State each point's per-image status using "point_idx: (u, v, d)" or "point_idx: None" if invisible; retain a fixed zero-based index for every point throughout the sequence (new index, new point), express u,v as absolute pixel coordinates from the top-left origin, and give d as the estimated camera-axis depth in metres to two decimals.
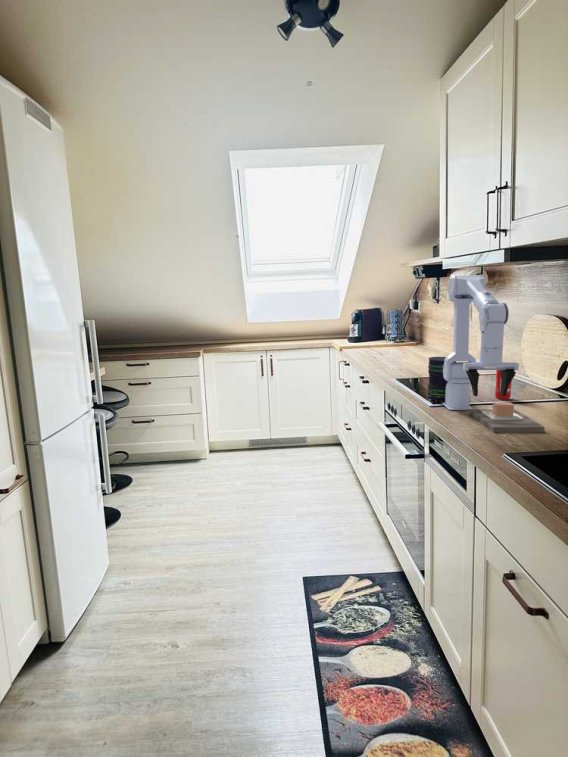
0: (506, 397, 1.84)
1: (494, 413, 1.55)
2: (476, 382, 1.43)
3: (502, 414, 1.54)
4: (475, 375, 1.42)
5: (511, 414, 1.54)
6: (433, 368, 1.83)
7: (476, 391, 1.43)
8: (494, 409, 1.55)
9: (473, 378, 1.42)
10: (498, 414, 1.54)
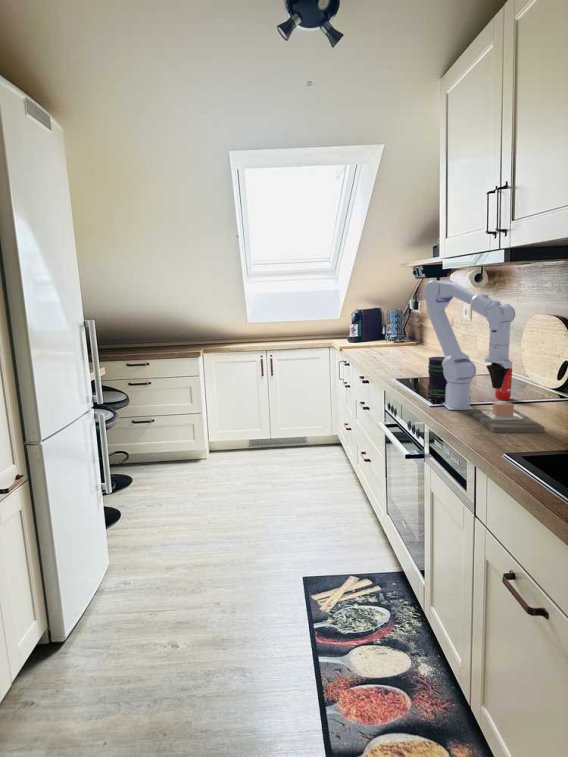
0: (506, 397, 1.84)
1: (494, 413, 1.55)
2: (490, 374, 1.60)
3: (502, 414, 1.54)
4: (488, 367, 1.60)
5: (511, 414, 1.54)
6: (433, 368, 1.83)
7: (492, 383, 1.60)
8: (494, 409, 1.55)
9: (488, 370, 1.61)
10: (498, 414, 1.54)
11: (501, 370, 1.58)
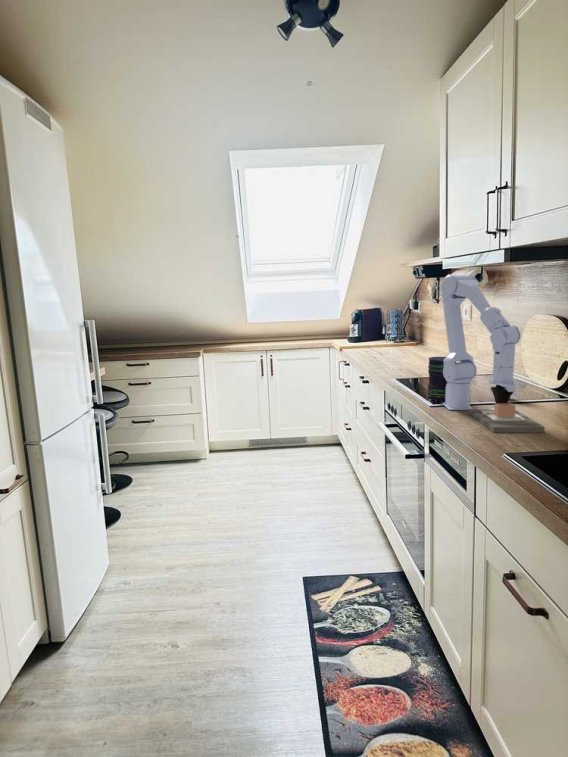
0: None
1: (495, 414, 1.54)
2: (495, 397, 1.57)
3: (504, 415, 1.52)
4: (492, 389, 1.57)
5: (513, 415, 1.52)
6: (433, 368, 1.83)
7: None
8: (495, 410, 1.54)
9: None
10: (500, 415, 1.53)
11: (505, 392, 1.55)
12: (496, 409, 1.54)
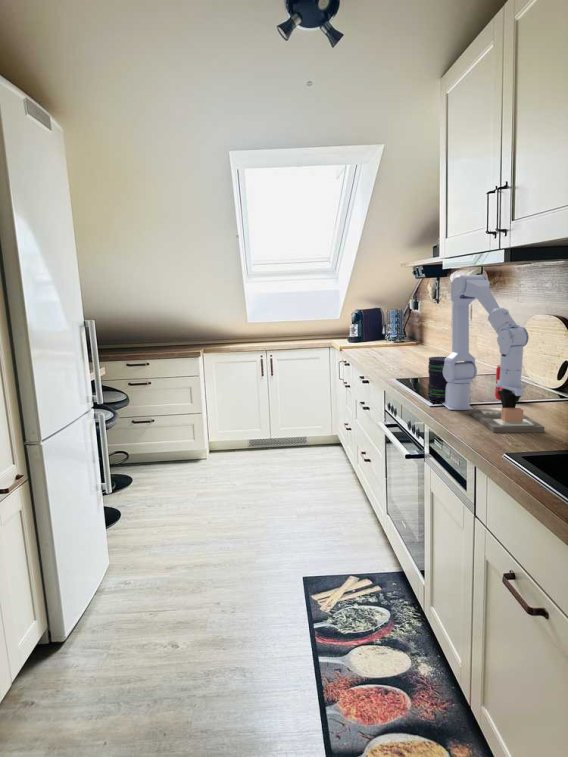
0: None
1: (503, 419, 1.48)
2: (501, 401, 1.51)
3: (511, 420, 1.47)
4: (499, 393, 1.51)
5: (520, 420, 1.47)
6: (433, 368, 1.83)
7: None
8: (503, 415, 1.48)
9: (499, 396, 1.52)
10: (507, 420, 1.47)
11: (513, 396, 1.49)
12: (503, 414, 1.48)
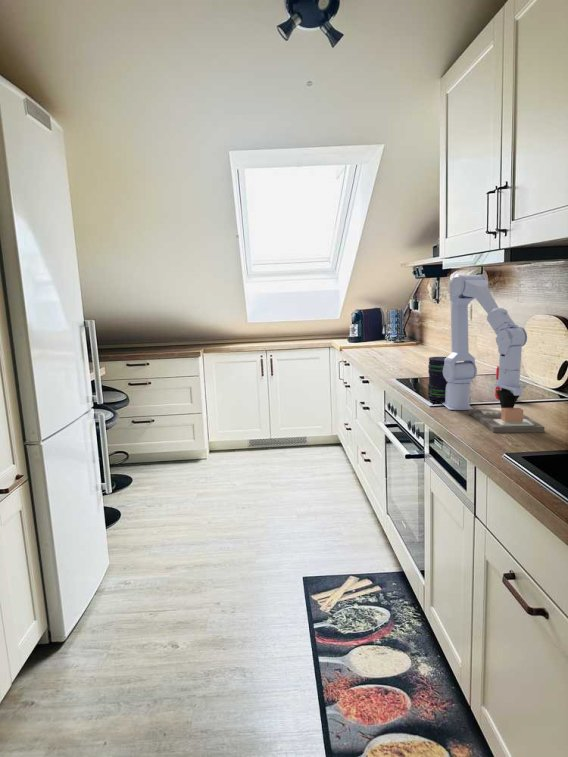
0: None
1: (503, 419, 1.48)
2: (500, 400, 1.52)
3: (511, 420, 1.47)
4: (497, 393, 1.52)
5: (520, 420, 1.47)
6: (433, 368, 1.83)
7: (501, 409, 1.52)
8: (503, 415, 1.48)
9: (498, 395, 1.53)
10: (507, 420, 1.47)
11: (511, 396, 1.50)
12: (503, 414, 1.48)
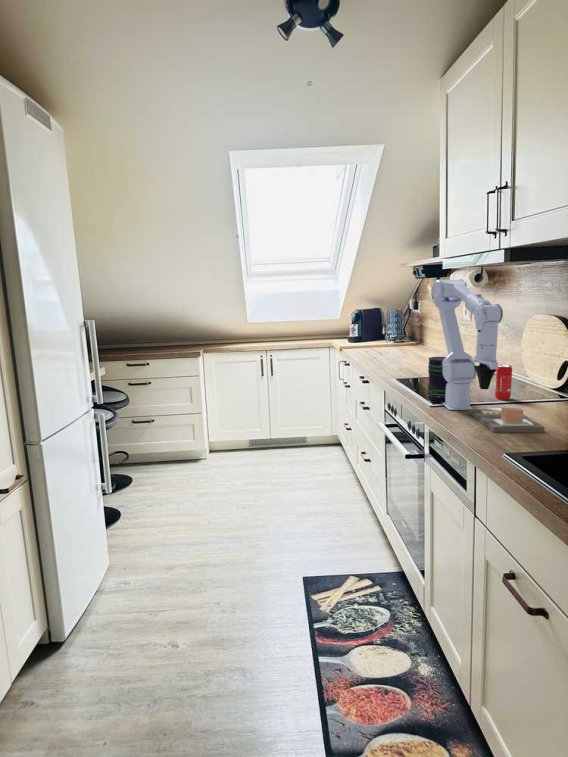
0: (506, 397, 1.84)
1: (503, 419, 1.48)
2: (478, 375, 1.58)
3: (511, 420, 1.47)
4: (475, 368, 1.58)
5: (520, 420, 1.47)
6: (433, 368, 1.83)
7: (479, 384, 1.58)
8: (503, 415, 1.48)
9: (476, 371, 1.58)
10: (507, 420, 1.47)
11: (488, 371, 1.56)
12: (503, 414, 1.48)
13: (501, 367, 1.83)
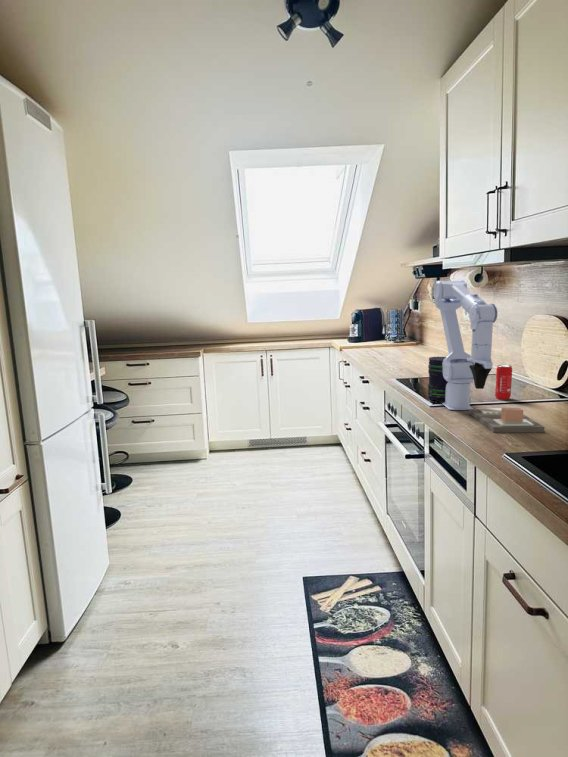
0: (506, 397, 1.84)
1: (503, 419, 1.48)
2: (473, 374, 1.58)
3: (511, 420, 1.47)
4: (470, 367, 1.58)
5: (520, 420, 1.47)
6: (433, 368, 1.83)
7: (474, 383, 1.58)
8: (503, 415, 1.48)
9: (471, 370, 1.59)
10: (507, 420, 1.47)
11: (483, 370, 1.56)
12: (503, 414, 1.48)
13: (501, 367, 1.83)
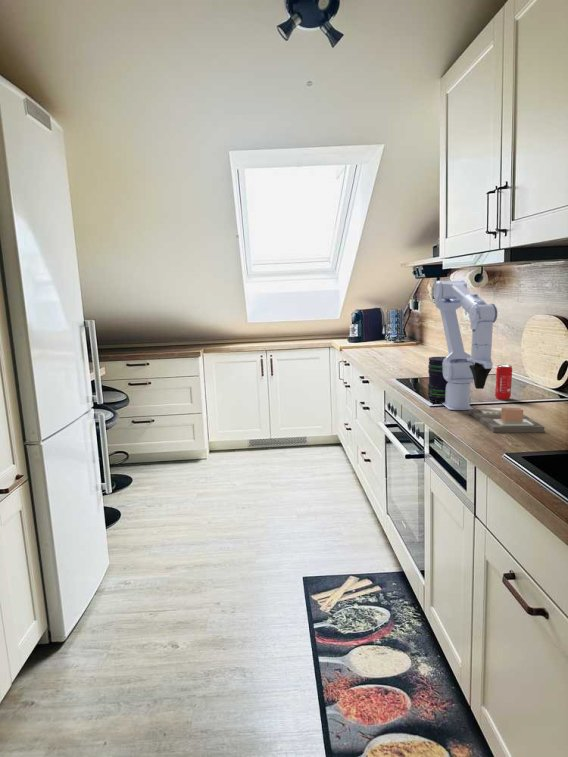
0: (506, 397, 1.84)
1: (503, 419, 1.48)
2: (473, 374, 1.58)
3: (511, 420, 1.47)
4: (470, 367, 1.58)
5: (520, 420, 1.47)
6: (433, 368, 1.83)
7: (474, 383, 1.58)
8: (503, 415, 1.48)
9: (471, 370, 1.59)
10: (507, 420, 1.47)
11: (483, 370, 1.56)
12: (503, 414, 1.48)
13: (501, 367, 1.83)
